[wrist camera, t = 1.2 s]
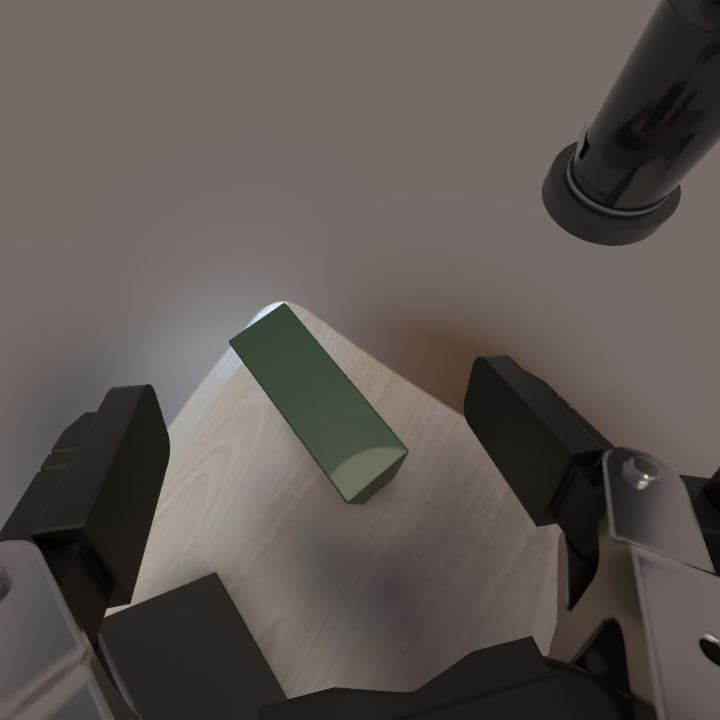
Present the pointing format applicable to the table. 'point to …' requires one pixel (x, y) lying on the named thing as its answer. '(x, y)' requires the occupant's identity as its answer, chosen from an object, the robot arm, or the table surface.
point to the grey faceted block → (190, 656)
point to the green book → (321, 405)
